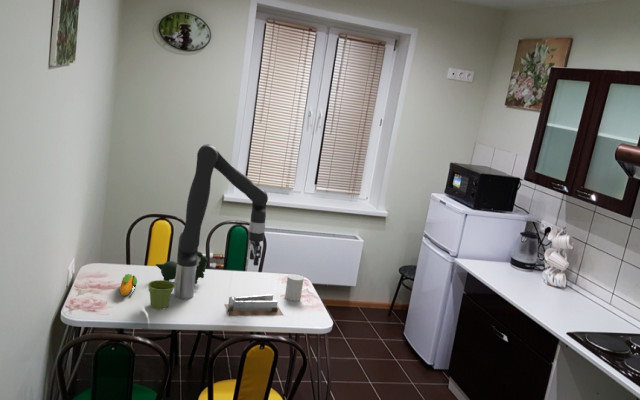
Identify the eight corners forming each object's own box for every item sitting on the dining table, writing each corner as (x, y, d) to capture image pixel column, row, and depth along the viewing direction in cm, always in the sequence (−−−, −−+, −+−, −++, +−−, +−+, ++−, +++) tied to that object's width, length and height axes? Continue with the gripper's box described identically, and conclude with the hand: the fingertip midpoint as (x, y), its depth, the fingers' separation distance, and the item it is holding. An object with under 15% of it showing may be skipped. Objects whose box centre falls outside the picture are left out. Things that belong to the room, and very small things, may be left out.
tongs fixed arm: (228, 312, 252) (230, 300, 251) (227, 308, 256) (228, 296, 255) (277, 311, 261) (279, 299, 260) (275, 308, 264) (276, 296, 263)
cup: (294, 303, 276) (297, 281, 274) (281, 298, 280) (284, 276, 278) (303, 299, 283) (306, 277, 280) (290, 294, 287) (293, 273, 285)
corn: (138, 270, 269) (133, 285, 250) (138, 285, 270) (133, 301, 251) (122, 270, 267) (116, 285, 248) (122, 285, 269) (116, 301, 250)
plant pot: (171, 314, 244) (174, 290, 242) (144, 312, 241) (146, 288, 239) (173, 303, 255) (175, 280, 253) (147, 302, 253) (149, 279, 251)
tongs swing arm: (234, 308, 257) (235, 298, 256) (233, 307, 258) (234, 297, 257) (272, 304, 268) (273, 295, 267) (270, 303, 269) (271, 293, 268)
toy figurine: (202, 284, 288) (154, 276, 283) (209, 250, 285) (160, 242, 280) (201, 291, 279) (151, 283, 274) (208, 256, 275) (158, 247, 270)
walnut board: (229, 317, 249) (229, 315, 248) (224, 306, 260) (224, 304, 260) (283, 317, 258) (283, 315, 258) (276, 305, 270) (276, 304, 270)
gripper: (246, 226, 268) (243, 257, 271) (252, 234, 255) (249, 267, 258) (260, 226, 270) (257, 257, 273) (268, 234, 257) (264, 267, 260)
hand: (253, 262), depth 266 cm, fingers open, 8 cm apart
